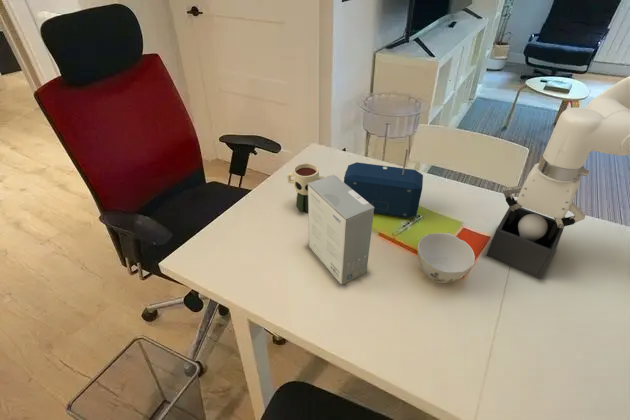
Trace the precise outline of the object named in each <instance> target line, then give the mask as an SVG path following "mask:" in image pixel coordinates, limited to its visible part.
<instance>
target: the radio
mask: <svg viewBox="0 0 630 420" xmlns="http://www.w3.org/2000/svg"><path fill="white" fill-rule="evenodd" d="M408 152H409V149H405V155H404V160H403V167H396V166H388V165H381V164H373V163H365V162H354V163H351V164H348V165H347V168H346V171H345V173H344V177H343V182H344V183H345V184H346V185H347V186H349V187H350V188H351V189H352V190H354V191H355V192H356V193H358V194H359V195H360V196H361V197H362V198H364V199H365V200H366V201H367V202H369V203H370V204H371V205H372V206H373V207H375V208H374V214H375V215H380V216H381V215H383V216H389V217H394V218H395V217H396V218H402V219H411V218H414V217H417V215H418V210H419V205H420V201H421V197H422V192H423V183H424V175H423V174H422V172H420V171H418V170H416V169H413V168H406V163H407V158H408Z"/></svg>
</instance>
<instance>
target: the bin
mask: <svg viewBox="0 0 630 420" xmlns="http://www.w3.org/2000/svg"><path fill="white" fill-rule="evenodd" d="M509 212H510V207H509V206H508V209H507V210H506V212H505V214H504V216H503V218H502V219H501V220H500V222H499V224H498V226H497V227H496V229H495V232H494V235H493V236H492V239H491V242H490V244H489V247H488V249H487V252H486V254H485V256H486V257H488V258H490V259H493V260H495V261H496V262H499V263H502V264H504V265H506V266H508V267H511V268H513V269H515V270H518V271H520V272H522V273H525V274H527V275H529V276H532V277H534V278H537V279H538V280H541V278H542V277H543V274H544V272H545V271H546V269H547V267H548V265H549V264H550V262H551V260H552V259H553V257H554V255H555V253H556V252H557V251H556V250H557V248H558V245H559V242H560V240H561V237H562V235H563V232H564V229H565V226H564V227H563V228H561V229H560V231H559V233H558V235H557V236H553V237H552V239H551V240H549V239H548V236H549V234H550V232H551V230H552V228H553V226H554V224H555V222H556V221H555V218H553V217H550V216H548V215H545V214H542V213H539V212H536V211H533V210H531V209H528V208H525V207H521V208H519V209H518V211H517V214H516V216H515V218H514V220H513V222H512V224H510V225H509V224H508V223H509V220H510V219H507V217H508V215H509ZM529 214H536V215H539V216H541V217H543V218H544V219H545V221H546V222H547V225H548V229H547V232H546V234H545V235H544V236H543V237H541V238H539V239H537V240H536V241H534V242H531V241H529V240H526V239H524V238H521V237H519V236H520V234H519V230H518V223H519V221H520V220H521V218H523V217H524V216H526V215H529Z"/></svg>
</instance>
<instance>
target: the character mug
mask: <svg viewBox="0 0 630 420" xmlns="http://www.w3.org/2000/svg"><path fill="white" fill-rule="evenodd" d="M291 177H293V179H292V178H291ZM325 177H326V176H323V175H320V168H319V167H318V166H317V165H316V164H314V163H310V162H302V163H299V164H297V165H295V166H294V167H293V171H292V172H287V173H286V178H287V183H288V184H293V188H294V190H295V192H296V205H295V206H296V209H297V210H298V211H299V212H304V210H305V212H306V213H308V183H311V182H314V181H317V180H319V179H322V178H325Z"/></svg>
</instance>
